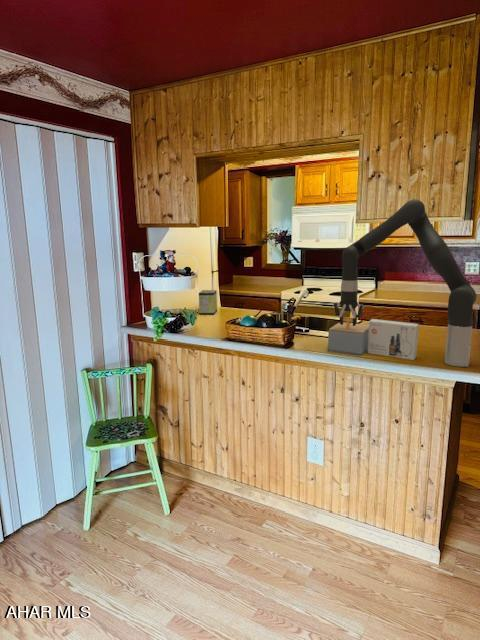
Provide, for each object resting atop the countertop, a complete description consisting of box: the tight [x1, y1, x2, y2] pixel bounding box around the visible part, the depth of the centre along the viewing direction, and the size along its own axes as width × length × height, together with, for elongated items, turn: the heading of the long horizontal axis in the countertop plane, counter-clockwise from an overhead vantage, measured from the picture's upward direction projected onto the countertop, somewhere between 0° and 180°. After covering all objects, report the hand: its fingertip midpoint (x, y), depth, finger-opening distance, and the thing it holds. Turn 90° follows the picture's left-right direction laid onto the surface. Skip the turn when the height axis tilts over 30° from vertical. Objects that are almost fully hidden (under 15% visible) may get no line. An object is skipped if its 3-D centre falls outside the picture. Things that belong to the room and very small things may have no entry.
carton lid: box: [328, 316, 369, 334], centre depth 207 cm, size 16×16×6 cm
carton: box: [327, 329, 369, 356], centre depth 207 cm, size 16×16×10 cm
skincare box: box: [367, 318, 420, 361], centre depth 196 cm, size 21×5×16 cm, turn 56°
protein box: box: [198, 289, 218, 316], centre depth 303 cm, size 10×16×16 cm
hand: (347, 325), depth 203 cm, fingers closed on carton lid, 5 cm apart
